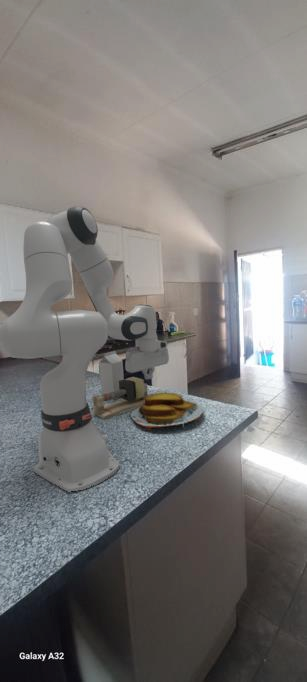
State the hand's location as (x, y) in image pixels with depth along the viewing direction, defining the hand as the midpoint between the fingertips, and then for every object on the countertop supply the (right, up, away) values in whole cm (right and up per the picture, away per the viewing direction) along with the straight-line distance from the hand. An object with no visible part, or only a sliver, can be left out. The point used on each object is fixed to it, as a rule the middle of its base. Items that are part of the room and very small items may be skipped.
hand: (148, 378), depth 119 cm
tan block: (-5, -6, -4) cm, 9 cm away
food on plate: (+7, -11, -18) cm, 22 cm away
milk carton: (-15, -8, +7) cm, 19 cm away
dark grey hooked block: (-8, -7, -6) cm, 12 cm away
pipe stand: (-10, -10, -7) cm, 16 cm away
